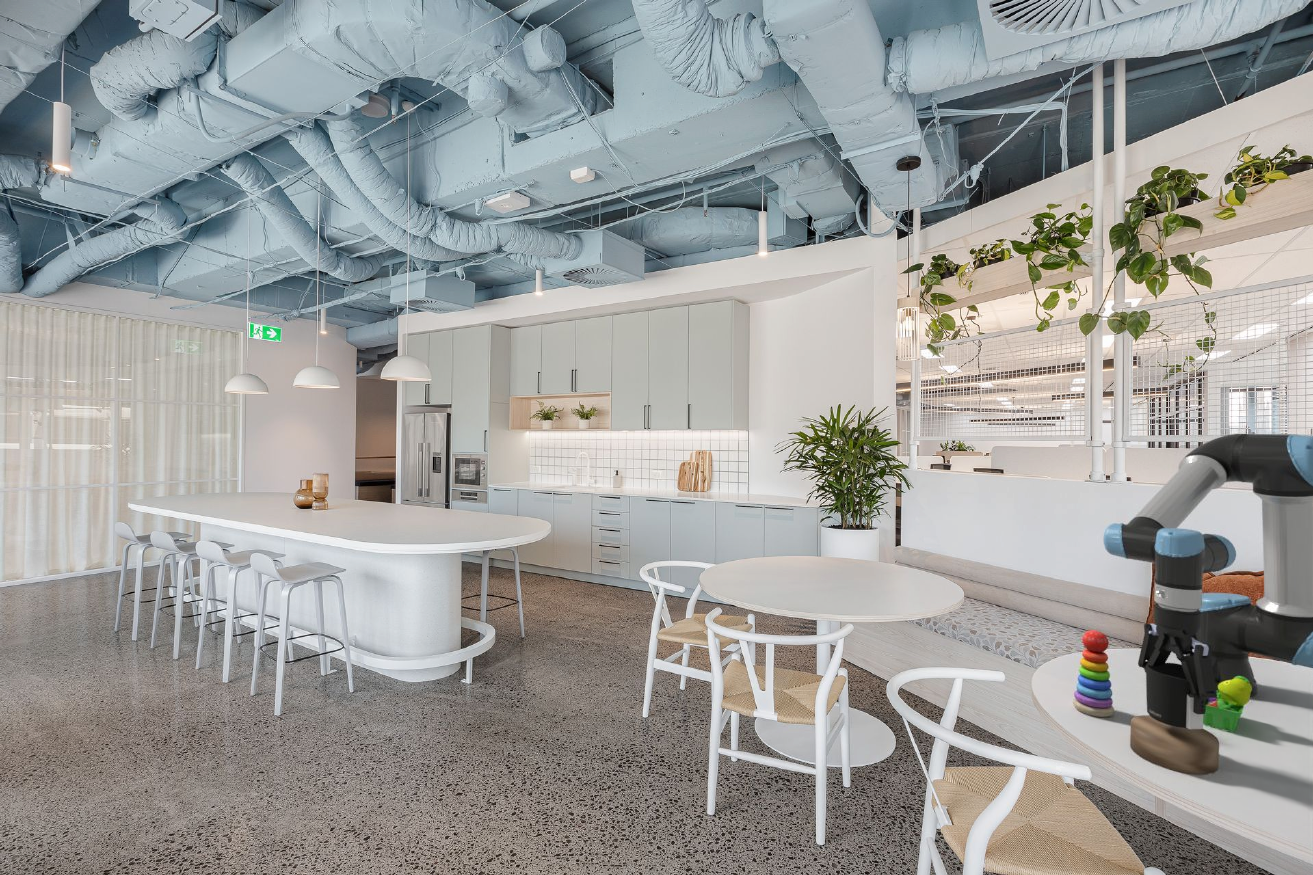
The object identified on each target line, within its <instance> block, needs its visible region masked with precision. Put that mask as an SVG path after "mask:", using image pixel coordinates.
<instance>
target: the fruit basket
mask: <svg viewBox="0 0 1313 875" xmlns="http://www.w3.org/2000/svg"><path fill="white" fill-rule="evenodd" d="M1249 682H1250V681H1249V680H1248V679H1247V678H1245V677H1242V676H1236V677H1234V679H1232V680H1227V681H1224V682H1221V683H1220V684H1219V685H1218V689H1219V691H1218V690H1217V691H1216V692H1217V697H1216V698H1207V699H1206V712H1205V714H1203V726H1206V727H1212V728H1215V729H1219V730H1223V731H1227V732H1230V733H1234V732H1235V730H1236V728H1237V724H1238V722H1239V721H1240V720H1239V719H1240V717H1242V714H1243V710H1244V708H1245V705H1247V704H1248V702H1250V698H1251V696H1250V693H1251V691H1252V686H1251V685H1250V683H1249Z"/></svg>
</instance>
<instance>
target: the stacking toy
mask: <svg viewBox="0 0 1313 875" xmlns="http://www.w3.org/2000/svg"><path fill="white" fill-rule="evenodd" d="M1108 639H1109V638H1108V637H1107V636H1106V635H1105V634H1104V633H1103V632H1101V631H1099V630H1095V629H1094V630H1093V629H1091V630H1087V631H1086V632H1085V633H1084V634H1083V636H1082V644H1083V646H1084V647H1085V648H1086V649H1083V651H1082V653H1081V654H1082V658H1080V660H1079V661H1080V662H1079V665H1081V666H1080V667H1079V668H1078V672H1079V674H1078V675H1077V681H1078V682H1077V683H1076V690H1075V691H1074V693H1073V695H1074V699H1073V701H1072V704H1073V707H1074V708H1075V709H1077V710H1078V711H1079V712H1080V713H1082V714H1084V715H1085V714H1086V715H1087V716H1092V717H1097V718H1108V717H1111V716H1113V715H1114V714H1115V709H1114V708H1115V707H1114V706H1113V703H1114V701H1113V699H1112V696H1113V690H1112V682H1111V680H1110V677H1111V674H1110V671H1109V667H1110V666H1109V664H1108V663H1107V661H1108V659H1109V656H1108V654H1107V653H1106V652H1105V651H1106V650H1108V647H1109V640H1108Z"/></svg>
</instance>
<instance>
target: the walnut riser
mask: <svg viewBox="0 0 1313 875" xmlns="http://www.w3.org/2000/svg"><path fill="white" fill-rule="evenodd" d="M1129 737H1130V739H1129V741H1130V742H1129V746H1130V749H1131V751H1132V752H1133V753H1135V754H1136V755H1137V756H1138V755H1139V756H1138V757H1140V758H1142V759H1143V760H1145V761H1147V762H1149V763H1151V764H1153V765H1155V766H1158V767H1161V768H1164V769H1167V770H1171V771H1174V772H1179V773H1183V774H1188V775H1189V774H1190V775H1211V774H1215V773H1216V772H1218V770H1219V760H1220V759H1219V757H1220V741H1219V738H1218V737H1217V736H1215V735H1214V734H1213V733H1211V732H1210V731H1208V730H1207V729H1205V728H1203V729H1188V728H1181V727H1175V726H1171V725H1167V724H1164V723H1162V722H1159V721H1157V720H1155V719H1153V718H1152V717H1151V716H1150V715H1149V714H1144V715H1137V716H1134V717H1132V719H1131V720H1130V734H1129Z"/></svg>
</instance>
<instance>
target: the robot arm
mask: <svg viewBox="0 0 1313 875" xmlns="http://www.w3.org/2000/svg"><path fill="white" fill-rule="evenodd" d="M1230 482H1232V483H1233V482H1239V483H1240V482H1241V483H1249V484H1252V493H1253V494H1254V495H1256V496H1257V497H1259V498H1260V499H1261V507H1262V508H1261V511H1262V512H1261V516H1262V544H1263V545H1262V546H1263V547H1262V548H1263V549H1262V550H1263V552H1262V553H1263V556H1262V557H1263V588H1264V592H1263V593H1264V594H1263V595H1264V596H1263V597H1261V598H1258V600H1256V602H1255V605H1254V604H1252V602H1253V601H1252V600H1251V598H1250V597H1249V596H1247V595H1246V596H1245V595H1243V594H1236V593H1226V592H1204V593H1203V582H1204V581H1203V580H1204V579H1203V577H1204V574H1208V573H1215V572H1220V571H1223V570H1225V569H1227V568H1229V567H1231V566H1232V565H1233V563H1234V562H1235V561H1236V558H1237V551H1236V547H1235V546H1234V544H1233V543H1232V542H1231V541H1230V540H1229V539H1228V538H1227V537H1225V536H1223V535H1220V534H1214V533H1213V534H1212V533H1204V534H1203V533H1201V532H1200V531H1198V530H1193V529H1189V528H1179V527H1180V526H1181V524H1182V523H1183V522H1184V521H1185V520H1186V519H1187V517H1189V516H1190V515H1191V513H1192V512H1193V511H1194V510H1195V509H1196V508H1197V506H1198V505H1200V503H1201V502H1202V501H1203V500H1204V498H1206V497H1207V496H1208V495H1209V493H1210V492H1211V491H1212V490H1216V489H1219V488H1221V487H1223V485H1224V484H1225V483H1230ZM1103 545H1104V548H1105V551H1106V552H1107V553H1108V554H1110V555H1111V556H1116V557H1120V558H1124V559H1126V560H1133V561H1139V562H1140V561H1141V562H1146V563H1152V564H1154V567H1155V568H1154V569H1155V570H1154V572H1155V573H1154V577H1155V578H1154V597H1153V598H1154V599H1153V600H1154V602H1155V604H1154V605H1153V621H1154V623H1145V624H1143V630H1144V631H1143V632H1144V636H1143V640H1142V644H1141V648H1140V653H1139V657H1138V662H1137V665H1138V667H1139V668H1143V670H1144V672H1145V673H1146V665H1150V666H1161V665H1164V664H1165V663H1167V660H1168V659H1169V657H1170V655H1171V653H1173V654H1174V655H1175V656H1176V657H1175V658H1176V659H1177V661H1180V664H1181V665H1182V667H1183V670H1184V673H1185V676H1186V680H1187V681H1189V689H1190V692H1191V694H1188V695H1187V715H1186V728H1188V729H1204V724H1203V714H1205V712H1206V699H1207V698H1216V697H1217V692H1216V691H1217V690H1218V691H1219V689H1218V685H1219V684H1220V683H1221V682H1224V681H1227V680H1232V679H1234V677H1236V676H1242V677H1245V678H1247V679H1248V680H1249V681H1250V682H1249V683H1250V685H1251V686H1252V691H1251V693H1250V697H1253V696H1255V695H1257V694H1258V682H1257V680H1256V679H1255V675H1254V672H1253V669H1252V666H1251V664H1250V659H1249V653H1250V654H1255V655H1257V656H1261V657H1266V658H1269V659H1273V660H1275V661H1276V660H1277V661H1281V662H1284V663H1287V664H1291V665H1293V666H1301V667H1306V668H1310V669H1313V435H1301V434H1295V433H1294V434H1293V433H1292V434H1285V433H1284V434H1283V433H1282V434H1281V433H1276V434H1275V433H1274V434H1273V433H1271V434H1270V433H1261V434H1260V433H1257V434H1256V433H1233V434H1228V435H1222V436H1219V437H1217V438H1214V439H1211V440H1209V441H1206V442H1204V443H1202V444H1201V445H1199V446H1197V447H1196V448H1194V449H1193V450H1191V451H1190V452H1188V453H1187V454H1186V455H1185V456H1184V457H1183V458H1182V459H1181V460H1180V462H1179V464H1178V471H1177V472H1176V473H1175V474H1174V475H1173V476H1172V477H1171V478H1170V479H1169V480H1168V481H1167V482H1166V483H1165V484H1164V485H1163V486H1162V488H1161V489H1160V490H1159V491H1158V492H1156V494H1155V495H1154V496H1153V497H1152V498H1151V499H1150V500H1149V501H1148V502H1147V503H1146V504H1145V506H1143V508H1141V510H1140V511H1139V512H1138V513H1137V514H1136V515H1135V516H1134V517H1133V518H1132V519H1131V520H1130V521H1129V522H1128V523H1127V524H1124V523H1123V522H1120V523H1112V524H1111V523H1110V524H1109V525H1108V526H1107V527H1106V528H1105V531H1104V533H1103ZM1197 689H1199V691H1197Z"/></svg>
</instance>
